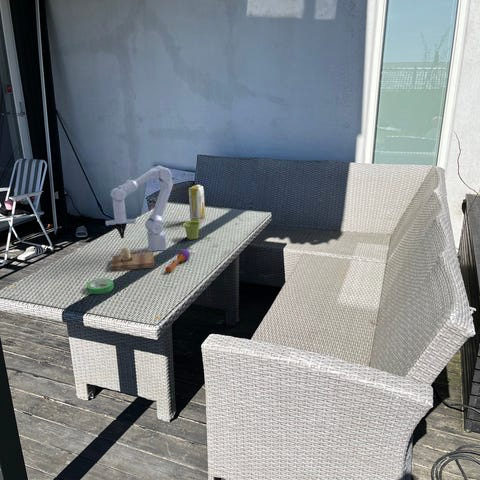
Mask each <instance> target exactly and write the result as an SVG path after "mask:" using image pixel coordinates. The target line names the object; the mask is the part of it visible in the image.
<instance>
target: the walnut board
mask: <svg viewBox="0 0 480 480" xmlns="http://www.w3.org/2000/svg"><path fill="white" fill-rule="evenodd" d="M154 254H155V253H154V252H147V253H145V252H144V253H132V254H131V253H130V258H131V261H128V262H122V254H120V255H112V257H111V258H112V259H111V263H110V271H111V272H117V271H126V270H129V271H130V270H141V269H151V268H152V269H153V268H155V257H154V256H155V255H154Z"/></svg>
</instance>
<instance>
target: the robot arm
mask: <svg viewBox="0 0 480 480" xmlns="http://www.w3.org/2000/svg"><path fill="white" fill-rule="evenodd" d="M150 180H158V181H159V183H160V184H161V187H160V190H159V193H158V196H157V199H156V202H155V205H154V207H153V210H152V213H151V214H150V215H149V216H148V219H147V220H146V221H145V223H144V227H145V228H146V230H147V244H148V245H147V252H153V251H154V252H156V251H166V250H167V241H166V232H165V231H162V230H163V223H164V221H163V220H164V219H163V217H164V216H163V215H164V213H165V210H166V207H167V204H168V201H169V197H170V195H171V192H172V189H173V186H174V182H173V173H172V171H171V170H170V169H169V168H167V167H165V166H162V165H156V166H154V167H152V168H150V169H149V170H148V171H147V172H145V173H144V174H142V175H140V176H139V177H138V178H136V179H134V180H133V179H127V180H126V181H125V183H123V184H121V185H118V187H114V188H113V189H112V190H111V191H110V194H109V195H110V198H112V207H113V208H112V209H113V215H114V216H113V217H114V219H111V220H105V225H106V226H113V225H115V228H116V230H117V232H118V234H119V236H120V238H121V239H124V238H125V232H126V227H127V225H128V224H134V225H135V224H136V223H137V221H136V218H127V212H126V202H125V199H126V197H128V196H129V195H131V194H132V193H134V192H136V191H138V188H139V187H140V186H141V185H143V184H145V183H146V182H149V181H150Z"/></svg>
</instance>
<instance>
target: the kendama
mask: <svg viewBox="0 0 480 480" xmlns="http://www.w3.org/2000/svg"><path fill="white" fill-rule="evenodd" d="M190 257H191V252H190V251H189V250H188V249H185V248H182V249H180V250H179V251H178V254H177V255H176V260H175V261H174V262H172V263H171V264H169V265H167V266H166V267H165V268H164V269H165V272H166V273H167V274H172V272H173V270H174V269H175V268H176V267H177V265H178V263H181V262H186V261H188V260H189V259H190Z"/></svg>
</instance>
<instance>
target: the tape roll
mask: <svg viewBox="0 0 480 480" xmlns="http://www.w3.org/2000/svg"><path fill="white" fill-rule="evenodd" d="M101 285H103V286H101ZM114 287H115V286H114V281H113V279H111V278H107V277H105V278H97V279H96V278H95V279H94V280H91V281H89V282H88V283H87V284H86V291H87V292H88V293H89V294H92V295H102V294H105V293H109V292H111V291H112V290H113V289H114Z"/></svg>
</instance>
